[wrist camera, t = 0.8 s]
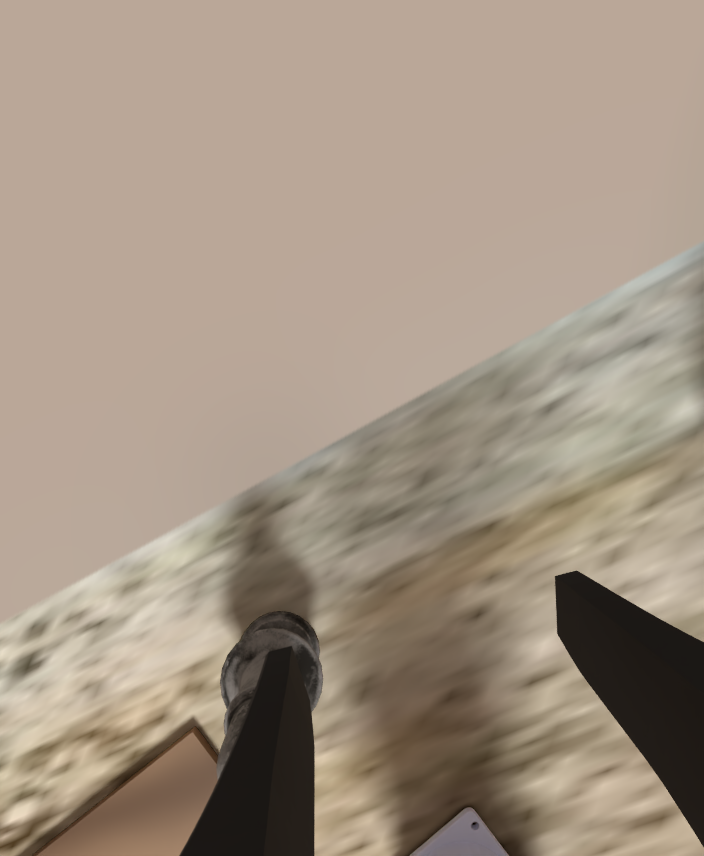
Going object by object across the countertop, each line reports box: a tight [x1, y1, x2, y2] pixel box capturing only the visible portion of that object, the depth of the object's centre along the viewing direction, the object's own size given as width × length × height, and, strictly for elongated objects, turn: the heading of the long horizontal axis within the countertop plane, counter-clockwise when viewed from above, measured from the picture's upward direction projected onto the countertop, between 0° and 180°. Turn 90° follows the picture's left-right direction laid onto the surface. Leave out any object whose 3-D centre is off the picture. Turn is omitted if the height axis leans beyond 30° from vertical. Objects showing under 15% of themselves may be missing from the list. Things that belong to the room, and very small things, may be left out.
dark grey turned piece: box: [216, 611, 323, 779], centre depth 23 cm, size 6×6×12 cm
